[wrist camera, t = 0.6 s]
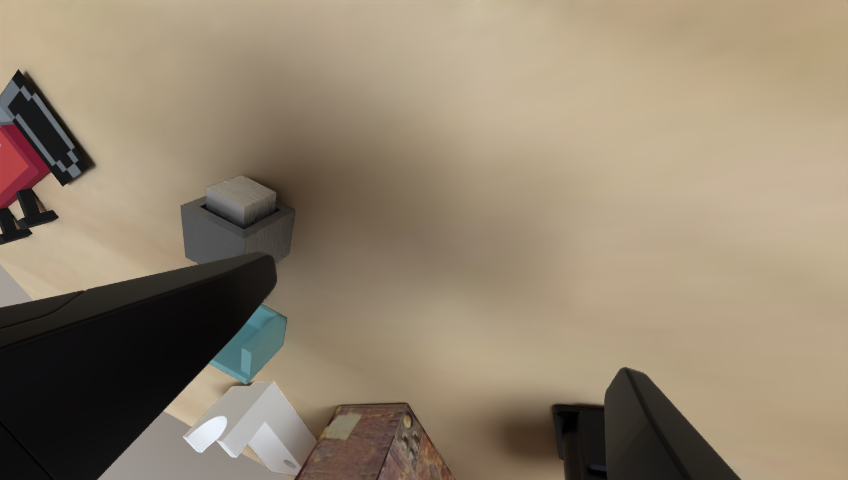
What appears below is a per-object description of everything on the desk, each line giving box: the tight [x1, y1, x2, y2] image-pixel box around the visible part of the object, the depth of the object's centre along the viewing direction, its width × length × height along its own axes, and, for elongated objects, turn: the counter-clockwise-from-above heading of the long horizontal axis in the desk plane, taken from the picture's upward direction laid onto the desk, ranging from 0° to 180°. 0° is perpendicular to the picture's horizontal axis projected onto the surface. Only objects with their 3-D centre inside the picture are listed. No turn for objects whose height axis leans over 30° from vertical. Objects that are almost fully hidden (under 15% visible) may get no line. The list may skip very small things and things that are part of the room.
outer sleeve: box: [181, 196, 295, 264], centre depth 24 cm, size 4×5×5 cm
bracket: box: [183, 381, 317, 476], centre depth 38 cm, size 13×7×8 cm, turn 23°
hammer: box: [206, 175, 277, 303], centre depth 21 cm, size 12×3×12 cm, turn 160°
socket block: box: [209, 305, 287, 385], centre depth 30 cm, size 4×6×5 cm
